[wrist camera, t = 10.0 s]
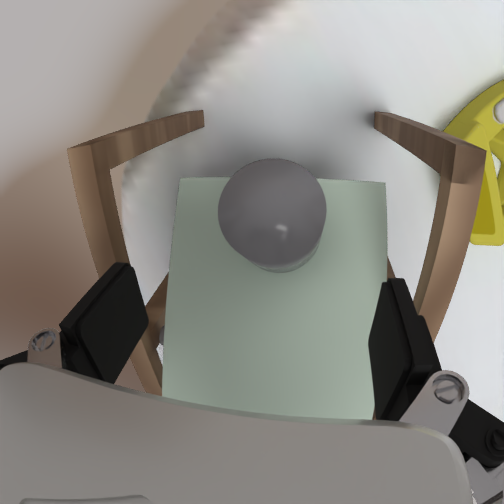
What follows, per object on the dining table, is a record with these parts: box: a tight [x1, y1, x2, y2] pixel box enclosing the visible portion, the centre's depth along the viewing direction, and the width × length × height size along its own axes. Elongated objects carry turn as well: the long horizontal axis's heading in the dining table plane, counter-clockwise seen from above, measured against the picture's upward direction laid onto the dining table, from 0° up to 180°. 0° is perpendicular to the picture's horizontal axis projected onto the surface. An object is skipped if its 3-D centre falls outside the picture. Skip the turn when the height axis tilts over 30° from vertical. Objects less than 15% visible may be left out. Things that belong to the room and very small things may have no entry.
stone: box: [218, 159, 327, 273], centre depth 17 cm, size 5×5×5 cm
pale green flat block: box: [159, 177, 387, 420], centre depth 21 cm, size 15×16×5 cm
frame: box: [67, 110, 487, 420], centre depth 23 cm, size 19×21×17 cm
